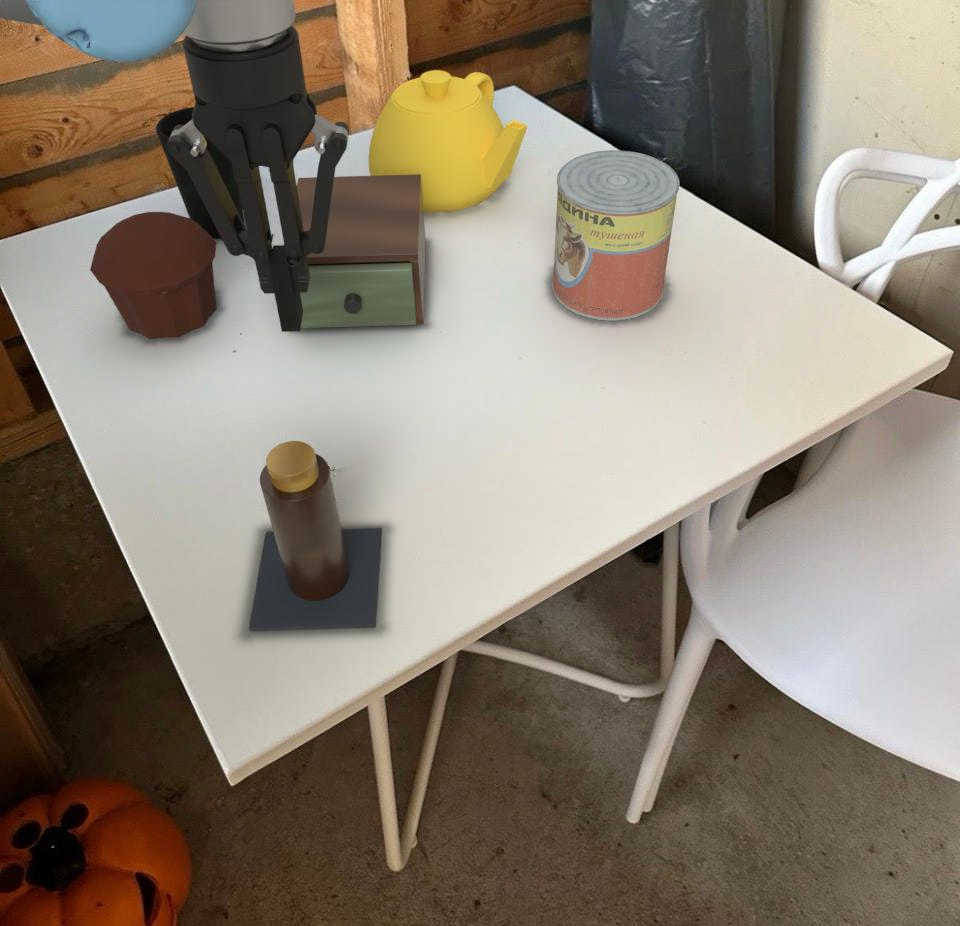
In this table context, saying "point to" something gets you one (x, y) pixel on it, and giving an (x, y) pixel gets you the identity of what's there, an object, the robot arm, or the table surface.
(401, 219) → the cabinet
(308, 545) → the bottle
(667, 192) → the canned food
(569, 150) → the table surface
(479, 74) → the teapot
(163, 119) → the cup
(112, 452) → the table surface
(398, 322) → the drawer
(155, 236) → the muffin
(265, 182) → the table surface
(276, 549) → the mat
